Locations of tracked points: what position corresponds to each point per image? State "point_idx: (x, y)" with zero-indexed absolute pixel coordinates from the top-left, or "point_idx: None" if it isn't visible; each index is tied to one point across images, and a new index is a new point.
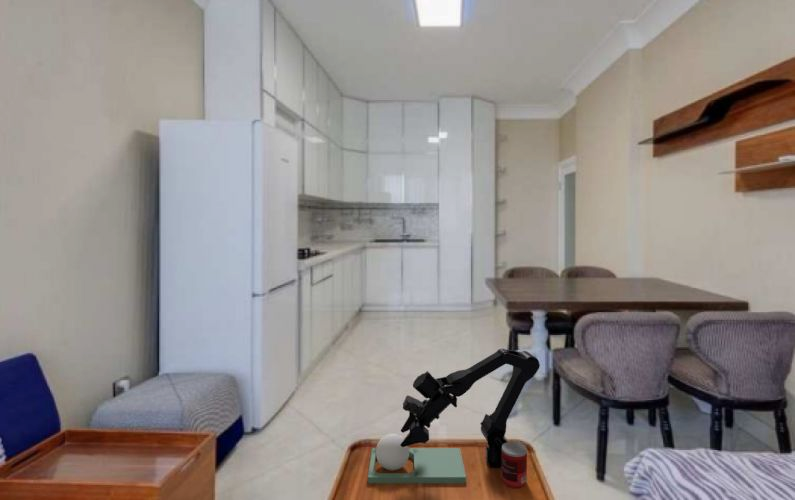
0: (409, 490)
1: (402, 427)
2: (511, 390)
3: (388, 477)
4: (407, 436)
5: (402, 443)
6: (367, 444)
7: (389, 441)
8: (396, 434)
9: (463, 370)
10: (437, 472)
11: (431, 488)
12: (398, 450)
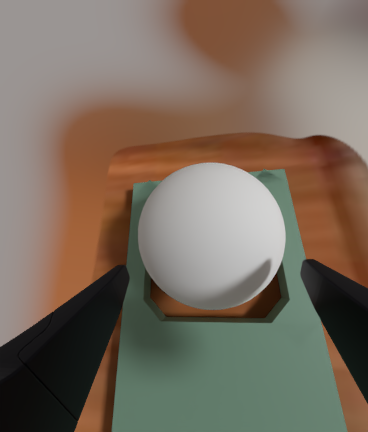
0: None
1: (330, 272)
2: None
3: (130, 235)
4: (27, 331)
5: (105, 278)
6: (331, 157)
7: (163, 201)
8: (243, 233)
9: None
10: (141, 428)
11: (101, 375)
12: (143, 256)
